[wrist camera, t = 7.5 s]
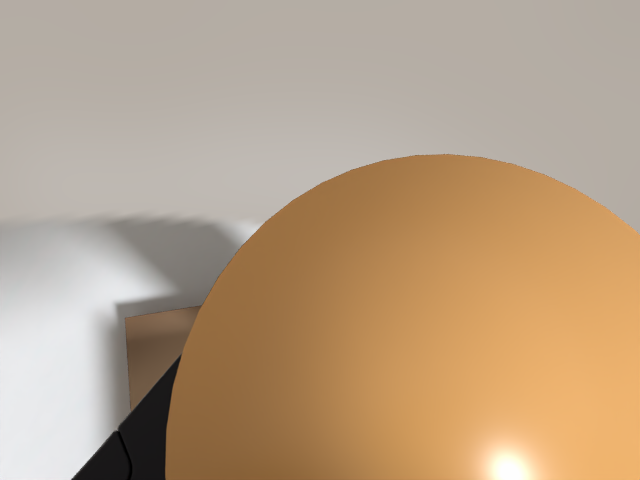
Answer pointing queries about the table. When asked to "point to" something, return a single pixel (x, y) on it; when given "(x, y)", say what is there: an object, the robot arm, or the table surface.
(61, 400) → the table surface
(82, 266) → the table surface
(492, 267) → the cable plug
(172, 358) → the end holder
